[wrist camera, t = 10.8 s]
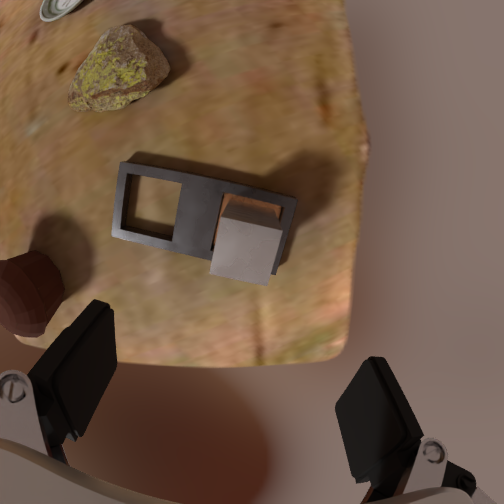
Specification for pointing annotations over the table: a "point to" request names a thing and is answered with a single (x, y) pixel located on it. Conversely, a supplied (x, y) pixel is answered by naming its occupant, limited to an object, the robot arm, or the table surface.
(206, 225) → the dark grey slotted tray
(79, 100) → the rock
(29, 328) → the muffin
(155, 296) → the table surface
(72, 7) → the saucer
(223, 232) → the silver rectangular block
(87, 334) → the robot arm
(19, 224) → the table surface
